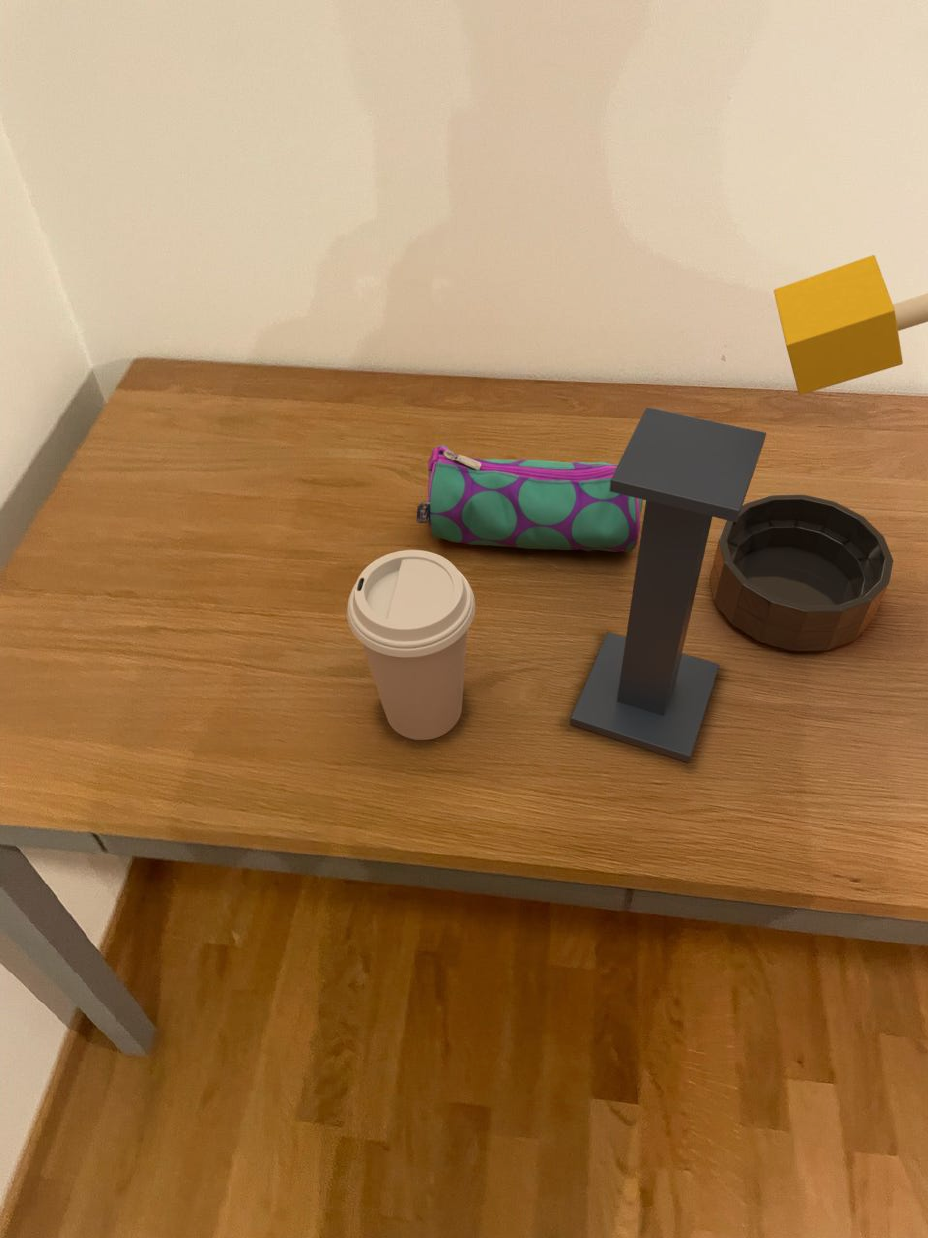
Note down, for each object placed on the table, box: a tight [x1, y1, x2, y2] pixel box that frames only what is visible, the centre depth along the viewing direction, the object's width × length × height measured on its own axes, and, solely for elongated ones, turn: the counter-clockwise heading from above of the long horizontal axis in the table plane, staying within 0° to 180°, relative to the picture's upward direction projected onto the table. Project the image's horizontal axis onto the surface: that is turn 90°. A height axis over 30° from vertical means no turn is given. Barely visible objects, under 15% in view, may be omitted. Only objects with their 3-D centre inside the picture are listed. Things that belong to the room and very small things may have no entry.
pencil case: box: [416, 444, 644, 553], centre depth 88 cm, size 21×9×10 cm, turn 82°
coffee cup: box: [346, 549, 476, 741], centre depth 73 cm, size 10×10×15 cm
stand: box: [569, 406, 767, 764], centre depth 68 cm, size 10×10×26 cm
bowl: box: [709, 493, 894, 652], centre depth 83 cm, size 14×14×6 cm
